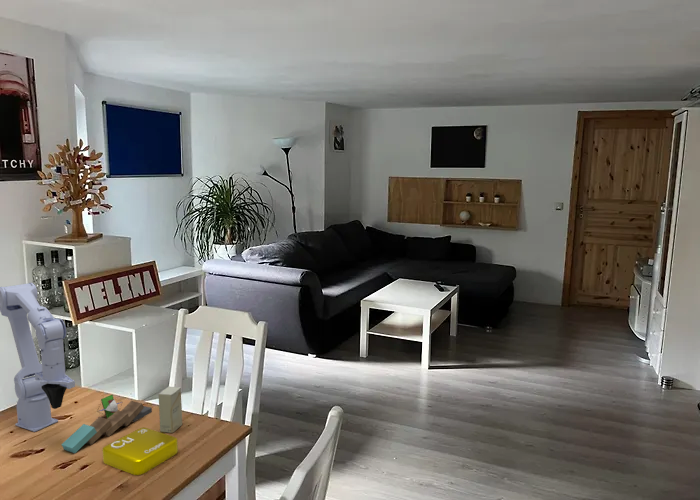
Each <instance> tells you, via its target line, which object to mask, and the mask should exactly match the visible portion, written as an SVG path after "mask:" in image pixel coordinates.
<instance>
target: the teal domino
mask: <svg viewBox="0 0 700 500" xmlns="http://www.w3.org/2000/svg"><path fill="white" fill-rule="evenodd" d="M96 433H97V432H96V430H95V428H94V427H92V426H90V425H88V424H85V423H83V424H82V425H81V426H80V427H79V428H78V429H77V430H75V432H73V433H72V434H71V435H69V437H67V439H66V440H64V441H63V442H62V443H61V447H62V448H63V450H65V451H67V452H70V453H73V454H76V453H77V452H78V451H79V450H80V449H82V447H83V446H84V445H85V444H87V443H86V442H87V441H88V440H89V439H90V438H92V437H93V436H94V435H95V434H96Z"/></svg>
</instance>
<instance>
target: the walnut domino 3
mask: <svg viewBox="0 0 700 500" xmlns="http://www.w3.org/2000/svg"><path fill="white" fill-rule="evenodd" d="M143 406H144V404H143V403H141V402H138V401H134V400H130V401H129V402H128V403H127V404H126V405H125V407H123V408H122V410H121V411H122V412H124V413H127V414H128V416H129V420H127V421H126V422H125V423H124V424H123V425H122V426H121V427H126V428H127V426H128V425H130V424H131V423H132V422H131V421H132V420H133V419H134V418H135V417H136V416H137V415H138V414H139V413H140V412H141V411H142V410H143V409H144V407H143Z"/></svg>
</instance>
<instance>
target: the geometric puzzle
mask: <svg viewBox="0 0 700 500" xmlns="http://www.w3.org/2000/svg"><path fill="white" fill-rule="evenodd" d="M114 397H115V396H114V395H113V394H110V395H108V396H106V397H103V398H100V404H99V406H98V409H97V413H99V414H104V415H105V417H106V419H108V418H109V417H110V416H111V415H113V414H114V413H115V412H116V411H117V410H119V406H118V405H119V404H120V405H121V406H122V404H123V401H122V400H120V399H119V402H117V399H115V398H114ZM100 406H102V407H103V409H100V410H99V407H100ZM103 411H104V413H102V412H103Z"/></svg>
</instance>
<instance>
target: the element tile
mask: <svg viewBox="0 0 700 500" xmlns="http://www.w3.org/2000/svg"><path fill="white" fill-rule="evenodd" d="M178 443H179V442H178V438H177V437H175V436H172V435H170V434H167V433H165V432H160V431H157V430H154V429H151V428H149V427H139V428H138V429H136V430H134V431H132V432H130V433H127V434H125V435H123V436H122V437H120V438H118V439H116V440H114V441H112V442H111V443H107V444H106V445H105V446H103V447H102V450H101V451H102V461H103V462H102V463H103V464H104V465H107V466H110V467H112V468H114V469H117V470H120V471H123V472H125V473H127V474H131V475H133V476H141V475H144V474H146V473H147V472H150V470H153V469H154V468H155V467H157V466H159V465H160V464H162V463H164V462H166V461H167V460H169V459H171V458H172V457H173V456H175V455H177V454H178V453H179V448H178V445H179V444H178Z"/></svg>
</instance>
